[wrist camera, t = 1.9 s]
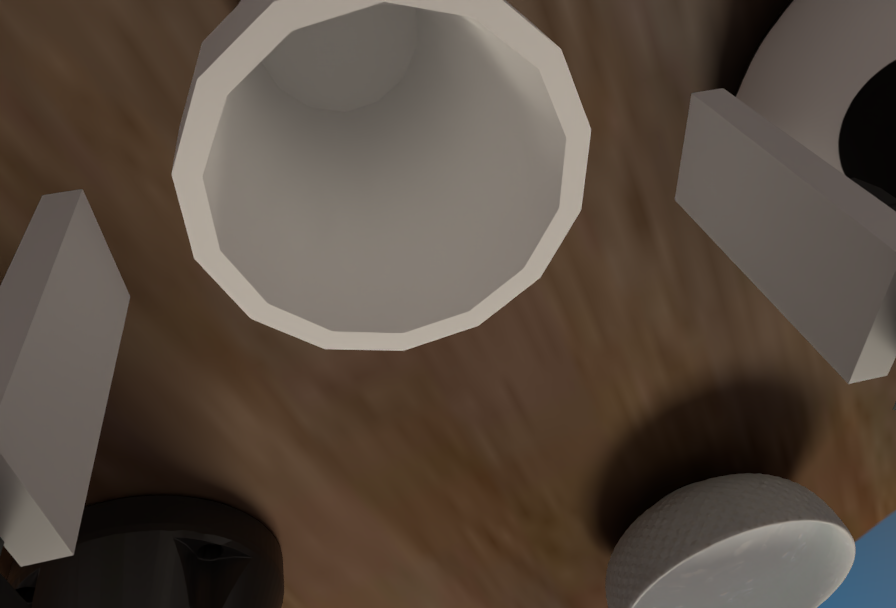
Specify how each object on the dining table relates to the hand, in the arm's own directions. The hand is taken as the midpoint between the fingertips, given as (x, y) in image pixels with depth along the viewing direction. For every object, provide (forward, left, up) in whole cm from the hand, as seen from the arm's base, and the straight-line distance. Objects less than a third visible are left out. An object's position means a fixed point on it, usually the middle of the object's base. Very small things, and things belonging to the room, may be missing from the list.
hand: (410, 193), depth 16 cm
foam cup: (0, 0, -14) cm, 14 cm away
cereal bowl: (+20, -38, -14) cm, 45 cm away
